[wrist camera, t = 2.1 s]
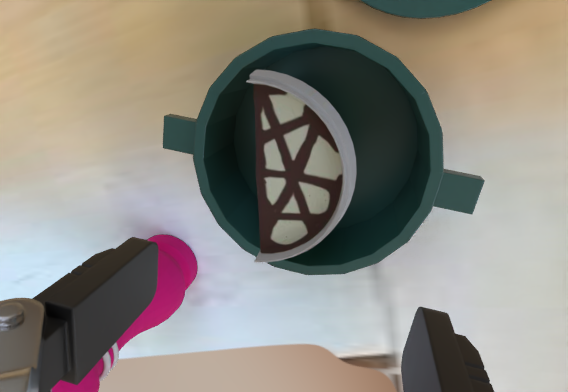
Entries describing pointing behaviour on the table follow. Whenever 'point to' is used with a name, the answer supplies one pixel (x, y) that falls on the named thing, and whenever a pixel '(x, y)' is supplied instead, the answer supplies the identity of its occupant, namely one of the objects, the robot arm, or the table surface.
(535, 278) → the table surface
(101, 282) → the robot arm
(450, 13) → the pot lid
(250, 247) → the pot
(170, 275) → the pepper mill
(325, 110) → the food container
